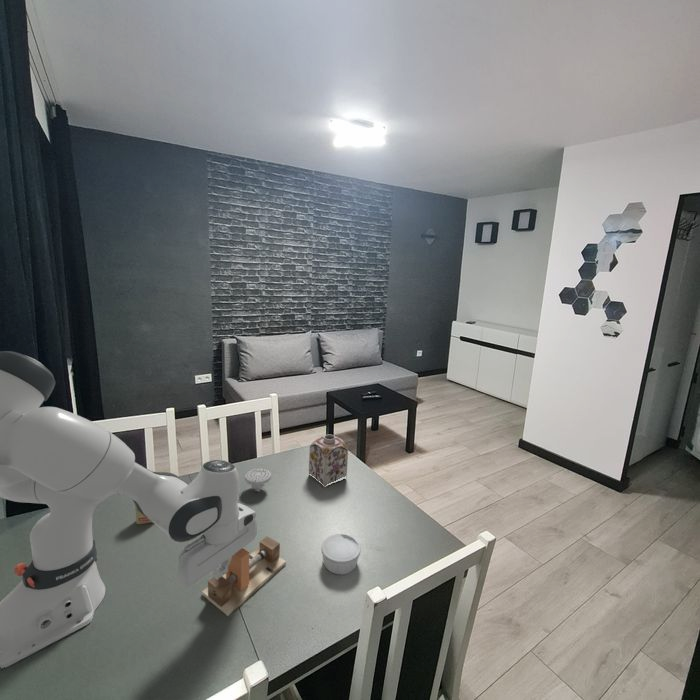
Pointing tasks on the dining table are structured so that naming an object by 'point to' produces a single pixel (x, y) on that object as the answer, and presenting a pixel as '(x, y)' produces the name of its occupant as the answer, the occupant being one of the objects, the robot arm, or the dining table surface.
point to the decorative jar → (328, 459)
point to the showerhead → (257, 478)
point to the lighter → (141, 518)
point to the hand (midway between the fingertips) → (220, 574)
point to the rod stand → (260, 571)
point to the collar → (239, 569)
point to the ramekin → (340, 553)
